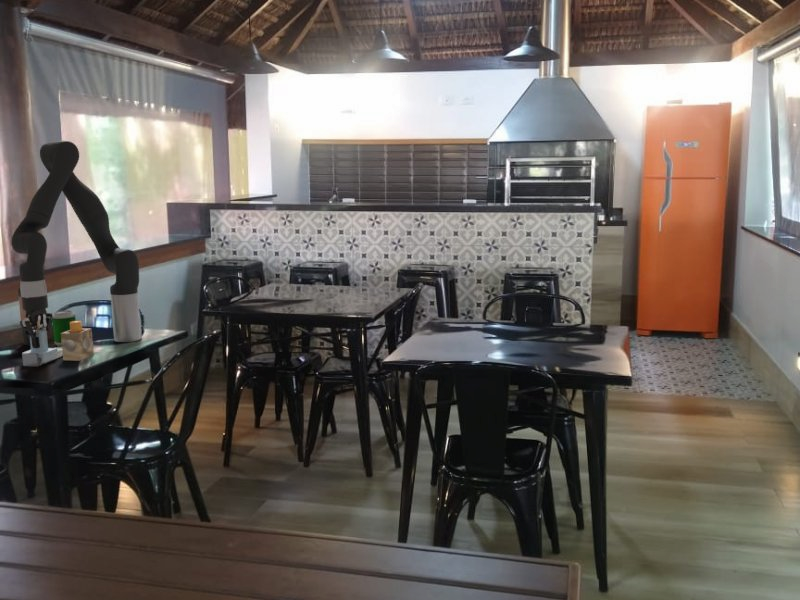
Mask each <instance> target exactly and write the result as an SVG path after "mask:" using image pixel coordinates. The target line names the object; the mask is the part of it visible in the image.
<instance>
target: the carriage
mask: <svg viewBox="0 0 800 600" xmlns="http://www.w3.org/2000/svg"><path fill="white" fill-rule="evenodd" d="M33 331H34V333H35V330H33ZM47 333H48V331H46V330H39V336H38V337H39V342H40V348H33V347H32V341H31V337H30V345H31V346H30V349H29V350H26V351H24V352H22V353H21V355H22V354H23V353H38V356H39V358H41V360H42V363H45V362H47V363H49V362H48V361H50V360H52V359H55V358H57V357H58V353H57V348H55V347H49V344H48V334H47ZM57 359H58V358H57ZM55 360H56V359H55ZM52 361H53V360H52ZM50 362H51V361H50ZM45 364H46V363H45Z"/></svg>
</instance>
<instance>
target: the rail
mask: <svg viewBox="0 0 800 600" xmlns="http://www.w3.org/2000/svg"><path fill="white" fill-rule="evenodd" d="M54 348H57V353H58V357H57V358H55V359H52V360H50V361H48V362H45V363H42V360H41V358H39V356H38V353H23V352H22V353H23V354H22V353H21V356H22V357H21V358H22V366H23V367H37V368H38V367H39V366H42V365H45V364H47V363H50V362H52V361H55V360H56V359H59V358H61V357H62V358H63V352H62V345H60V346H57V345H56V346H55V347H54Z"/></svg>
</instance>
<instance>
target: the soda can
mask: <svg viewBox="0 0 800 600" xmlns="http://www.w3.org/2000/svg"><path fill="white" fill-rule="evenodd" d="M76 319H77V318H76V313H75V312H74V311H73V310H70V309H68V310H66V309H65V310H58V311H55V312H53V313H52V320H51V323H52V331H53V332H52V333H53V341H54V344H55V345H56V347H57V346H60V345H62V341H61V333H63V332H66V331H69V330H70V322H72V321H77V320H76Z"/></svg>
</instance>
